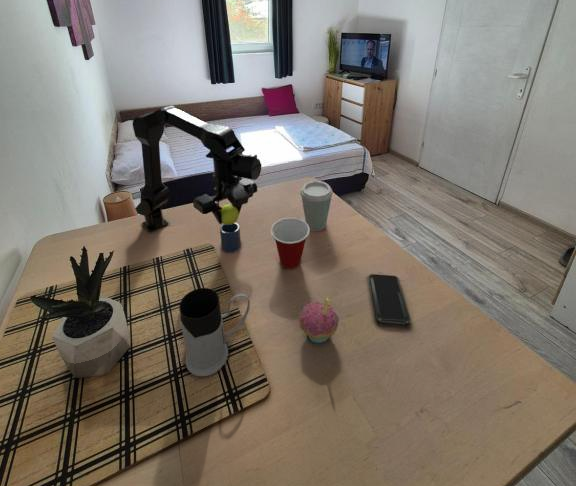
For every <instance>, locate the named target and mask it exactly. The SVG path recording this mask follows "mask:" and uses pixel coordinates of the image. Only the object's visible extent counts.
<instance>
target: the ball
mask: <svg viewBox="0 0 576 486" xmlns="http://www.w3.org/2000/svg"><path fill="white" fill-rule="evenodd" d="M221 207H222V208H223V209H222V210H221V217H222V225H223V224H225V225H231V224H233V223H237V221H238V219H239V216H240V213H239V212H238V210H237V208H236V207H234V206H233V205H232V204H230V203H229V204H224V205H222V206H221Z"/></svg>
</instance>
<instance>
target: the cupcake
mask: <svg viewBox="0 0 576 486" xmlns="http://www.w3.org/2000/svg"><path fill="white" fill-rule="evenodd" d="M330 300H331V299H330V296H328V297H327V298H326V299H325V302H319V301H314V302H309V303H308V304H306V305H304V307H303V308H302V309H301V311H300V313H299V315H298V316H299V318H298V319H299V327H300V329H301V331H302V332H303V333H304V334H305V335H307V337H308V338H309V340H311V342H313V343H316V344H322V343H325V342H327V340H328V339H329V338H330V337H332V336H334V334H335V333H336V332H337V329H338V325H339V321H340V320H339V315H338V313H337V312H336V311H335V310H334V308H333V307H331V305H330V304H329V303H330Z"/></svg>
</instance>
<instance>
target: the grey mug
mask: <svg viewBox="0 0 576 486" xmlns="http://www.w3.org/2000/svg"><path fill="white" fill-rule="evenodd" d="M239 298H245V299H246V300H247V305H246V310H245V312H244V314H243V316H242V318H241V319H240V321H239V322H238V323H237V324H236V325H235V326H233V328H232V329H231V330H230V331H229V332H228V333H227V334H226V336H225V330H224V322H223V319H224V318H226V317H228V316H229V315H230V314H231V305H232V304H233V302H234V301H235V300H237V299H239ZM227 304H228V305H227V312H225V313H222V311H221V302H220V296H219V294H218V292H217V291H215V290H214V289H212V288H208V287H200V288H196V289H195V288H194V289H193V290H191V291H189V292H188V293H186V294H185V295H184V296H183V297H182V298H181V300H180V302H179V306H178V310H179V321H180V326H181V333H182V337H183V343H184V348H185V366H186V369H187V371H189V373H191V374H192V375H195V376H197V377H208V376H211V375H213V374H215V373H218V371H219V370H221V369H222V368H223V366H224V365H225V364H226V362H227V359H228V357H229V356H228V355H229V349H228V346H227V345H228V344H227V341H228V339H229V338H230V337H231V336H232V335H233V334H234V333H235V332H236V331H237V330H238V329H239V328H240V326H242V325H243V323H244V322H245V320H246V319H247V318H248V315H249V312H250V308H251V301H250V298H249V296H248V295H247V294H246V293H238V294H235V295H234V296H232V297H231V298H230V300H229V301H228V303H227Z"/></svg>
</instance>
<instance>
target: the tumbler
mask: <svg viewBox="0 0 576 486" xmlns="http://www.w3.org/2000/svg"><path fill="white" fill-rule="evenodd" d="M219 233H220V243H221V248H222V251H223V252H226V253H235V252H237V251H239V250H240V249H241V247H242V241H241V226H240V224H239V223H237V222H235V223H233V224H231V225H225V224H223V223H222V224H221V226H220V228H219Z"/></svg>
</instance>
